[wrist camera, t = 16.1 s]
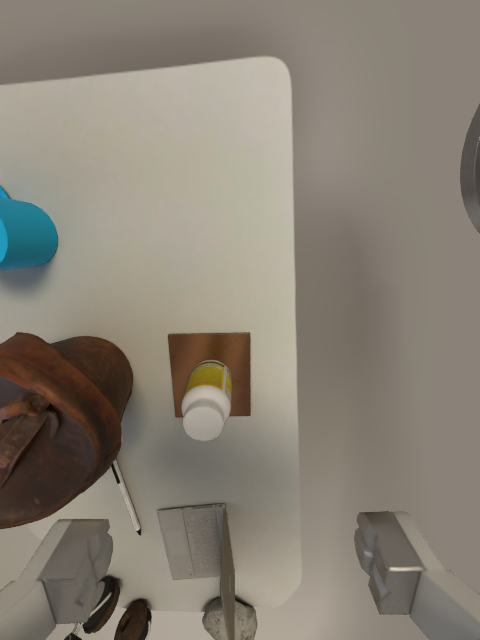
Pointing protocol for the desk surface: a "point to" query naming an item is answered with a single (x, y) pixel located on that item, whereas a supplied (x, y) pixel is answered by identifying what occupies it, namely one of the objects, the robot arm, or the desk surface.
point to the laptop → (201, 550)
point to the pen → (126, 496)
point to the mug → (24, 234)
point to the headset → (131, 623)
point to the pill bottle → (207, 400)
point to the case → (57, 421)
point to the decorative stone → (243, 621)
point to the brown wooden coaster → (212, 347)
